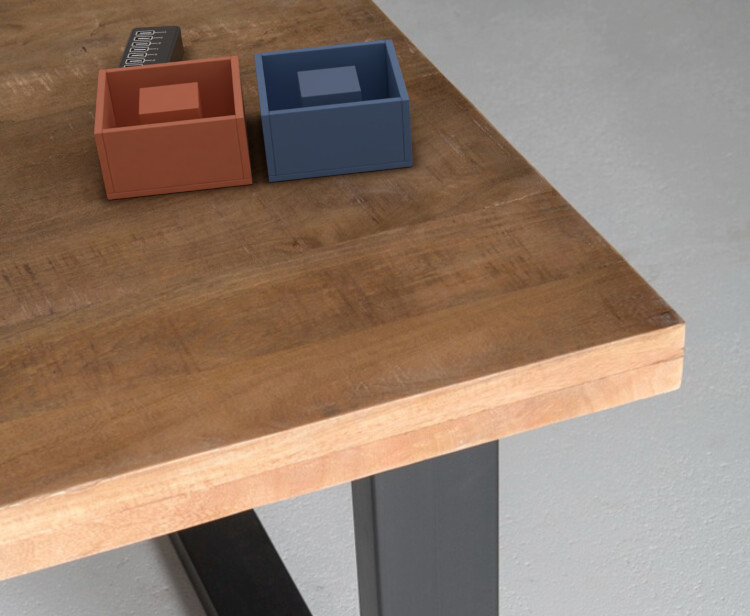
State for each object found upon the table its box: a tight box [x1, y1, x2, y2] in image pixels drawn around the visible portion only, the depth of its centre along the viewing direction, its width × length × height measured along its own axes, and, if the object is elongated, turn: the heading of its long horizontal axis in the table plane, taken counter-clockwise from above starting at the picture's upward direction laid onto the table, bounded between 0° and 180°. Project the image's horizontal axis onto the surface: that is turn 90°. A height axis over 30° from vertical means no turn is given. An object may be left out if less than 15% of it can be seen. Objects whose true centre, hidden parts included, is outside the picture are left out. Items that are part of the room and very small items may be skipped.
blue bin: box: [253, 38, 414, 183], centre depth 112 cm, size 11×11×6 cm
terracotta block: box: [139, 82, 203, 125], centre depth 111 cm, size 5×5×5 cm
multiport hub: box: [117, 25, 185, 68], centre depth 122 cm, size 4×14×2 cm, turn 178°
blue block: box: [297, 66, 362, 108], centre depth 112 cm, size 5×5×5 cm
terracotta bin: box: [93, 55, 253, 201], centre depth 111 cm, size 11×11×6 cm
